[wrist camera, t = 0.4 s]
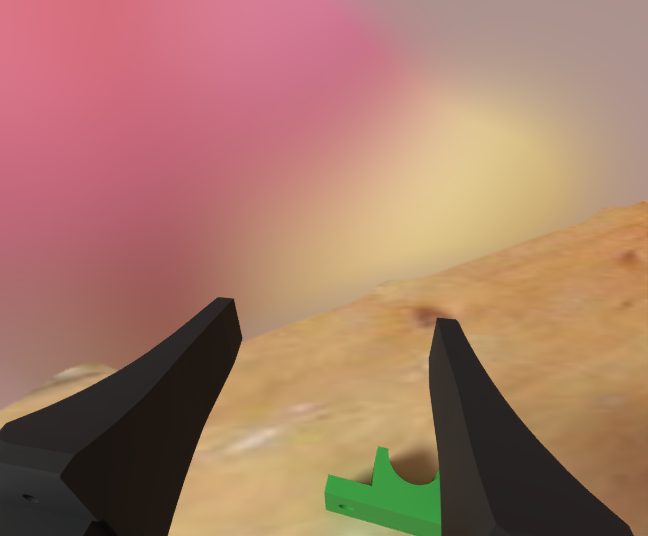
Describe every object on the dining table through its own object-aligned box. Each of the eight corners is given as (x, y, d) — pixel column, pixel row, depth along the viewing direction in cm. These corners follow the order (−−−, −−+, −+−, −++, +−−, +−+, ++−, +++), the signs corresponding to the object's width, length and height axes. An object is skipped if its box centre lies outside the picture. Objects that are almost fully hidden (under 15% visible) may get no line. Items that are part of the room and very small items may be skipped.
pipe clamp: (481, 495, 28) (500, 476, 25) (483, 556, 26) (505, 543, 22) (336, 457, 30) (337, 435, 27) (325, 510, 28) (324, 492, 24)
